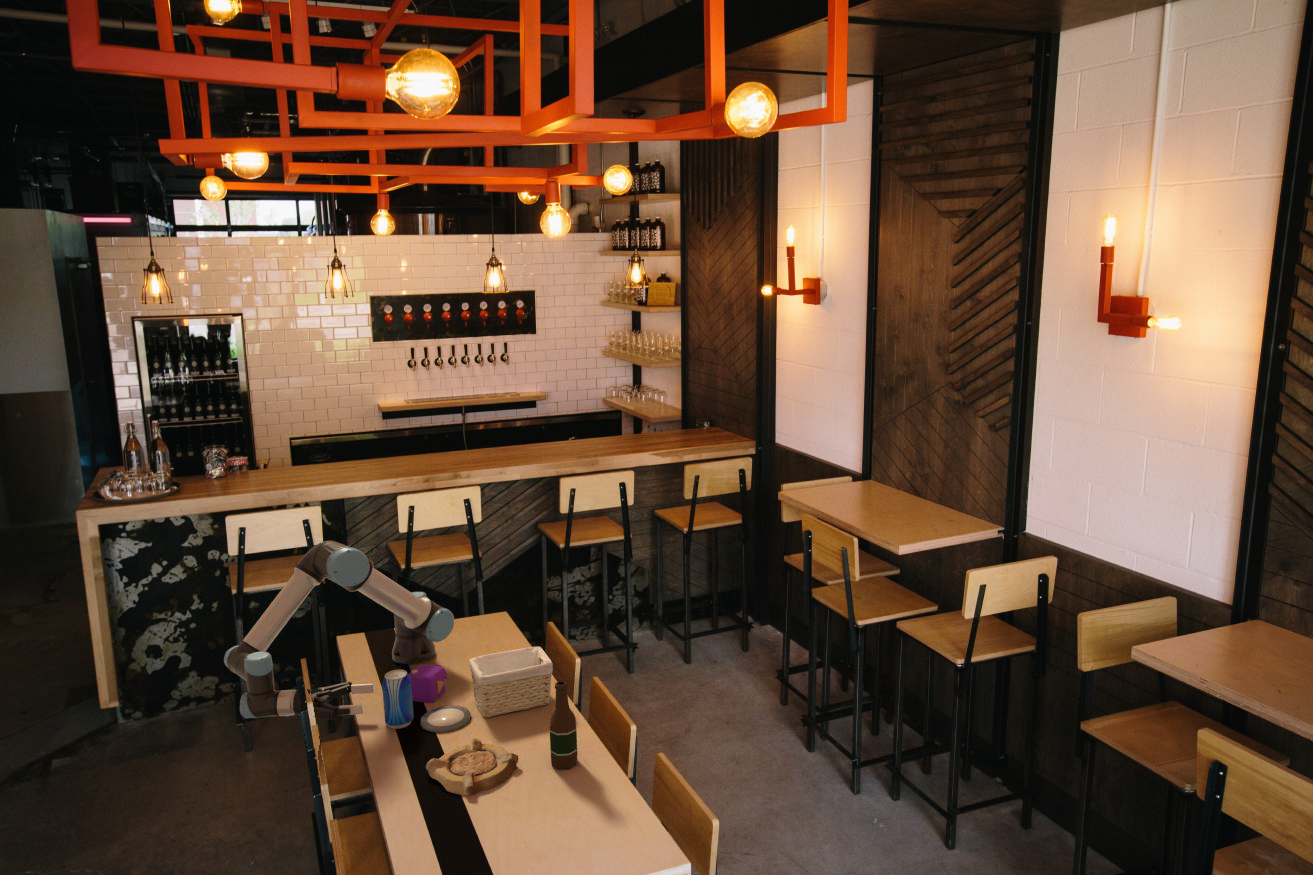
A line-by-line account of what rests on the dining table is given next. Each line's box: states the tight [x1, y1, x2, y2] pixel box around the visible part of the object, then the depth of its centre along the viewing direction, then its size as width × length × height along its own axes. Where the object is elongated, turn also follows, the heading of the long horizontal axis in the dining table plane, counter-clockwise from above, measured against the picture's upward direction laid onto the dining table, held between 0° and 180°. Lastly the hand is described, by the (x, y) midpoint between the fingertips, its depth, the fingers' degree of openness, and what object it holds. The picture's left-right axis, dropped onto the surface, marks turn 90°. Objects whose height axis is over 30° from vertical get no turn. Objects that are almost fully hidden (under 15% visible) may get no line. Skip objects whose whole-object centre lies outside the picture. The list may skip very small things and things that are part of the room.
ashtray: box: [425, 737, 519, 796], centre depth 239 cm, size 24×24×5 cm
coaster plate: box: [420, 705, 472, 734], centre depth 268 cm, size 15×15×1 cm
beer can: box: [381, 669, 415, 730], centre depth 266 cm, size 8×8×16 cm
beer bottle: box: [549, 680, 578, 771], centre depth 241 cm, size 8×8×24 cm
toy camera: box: [407, 664, 448, 704], centre depth 285 cm, size 11×14×10 cm
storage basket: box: [468, 646, 554, 718], centre depth 277 cm, size 24×16×15 cm
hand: (367, 698), depth 265 cm, fingers open, 13 cm apart
